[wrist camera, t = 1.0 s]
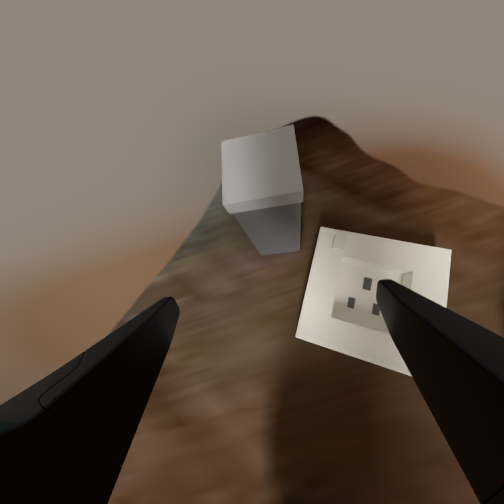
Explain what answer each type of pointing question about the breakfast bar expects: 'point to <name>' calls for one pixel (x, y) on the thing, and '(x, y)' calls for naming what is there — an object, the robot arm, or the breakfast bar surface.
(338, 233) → the socket
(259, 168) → the grey tall block
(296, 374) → the breakfast bar surface
